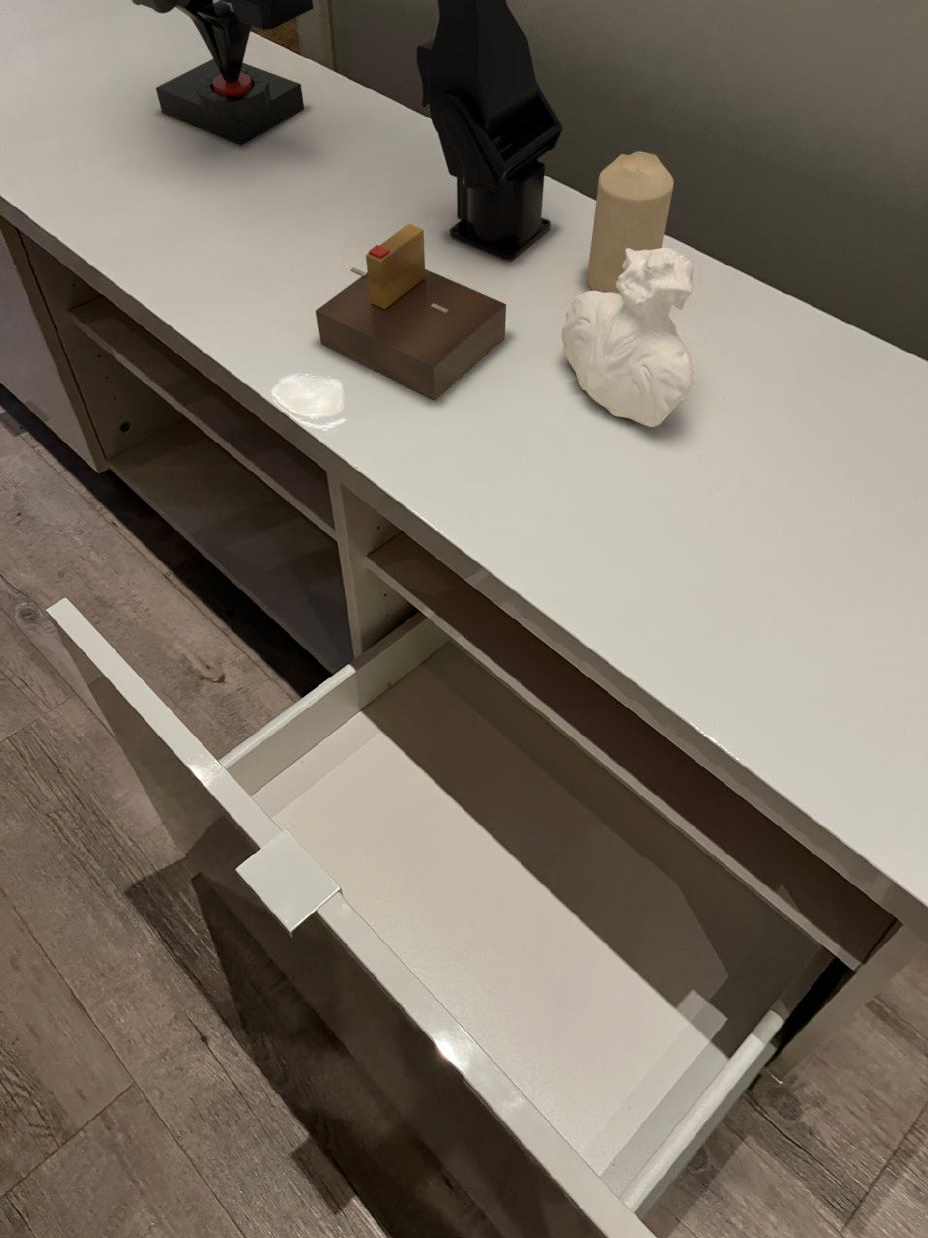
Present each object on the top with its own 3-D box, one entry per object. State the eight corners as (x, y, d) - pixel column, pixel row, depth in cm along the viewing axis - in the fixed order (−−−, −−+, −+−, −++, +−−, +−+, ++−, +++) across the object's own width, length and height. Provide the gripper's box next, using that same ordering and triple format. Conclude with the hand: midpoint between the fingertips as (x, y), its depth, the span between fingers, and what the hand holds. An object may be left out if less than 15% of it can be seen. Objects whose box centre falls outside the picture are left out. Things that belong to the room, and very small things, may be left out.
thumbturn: (411, 271, 71) (408, 219, 68) (426, 277, 70) (424, 225, 67) (370, 303, 69) (365, 251, 65) (384, 310, 68) (380, 258, 65)
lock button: (262, 97, 88) (258, 78, 87) (235, 112, 87) (231, 92, 85) (235, 87, 90) (231, 68, 88) (208, 101, 88) (204, 82, 86)
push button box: (310, 111, 92) (304, 68, 89) (241, 151, 88) (232, 107, 84) (226, 78, 96) (217, 36, 93) (156, 115, 92) (144, 72, 88)
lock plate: (505, 337, 71) (506, 301, 68) (434, 400, 67) (433, 365, 64) (383, 282, 75) (380, 246, 73) (309, 338, 71) (303, 303, 68)
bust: (677, 455, 66) (779, 316, 62) (623, 441, 61) (730, 286, 56) (572, 367, 72) (657, 233, 67) (514, 346, 66) (602, 198, 62)
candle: (632, 310, 73) (653, 188, 65) (573, 285, 75) (587, 163, 67) (667, 277, 76) (691, 156, 67) (609, 254, 77) (626, 133, 69)
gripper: (35, -122, 73) (98, 85, 86) (200, -71, 67) (243, 145, 80) (141, -157, 79) (186, 43, 91) (304, -113, 72) (328, 95, 85)
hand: (231, 80), depth 87 cm, fingers closed, pressing on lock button
